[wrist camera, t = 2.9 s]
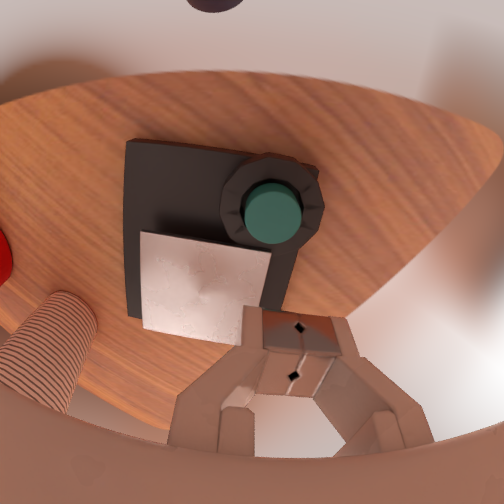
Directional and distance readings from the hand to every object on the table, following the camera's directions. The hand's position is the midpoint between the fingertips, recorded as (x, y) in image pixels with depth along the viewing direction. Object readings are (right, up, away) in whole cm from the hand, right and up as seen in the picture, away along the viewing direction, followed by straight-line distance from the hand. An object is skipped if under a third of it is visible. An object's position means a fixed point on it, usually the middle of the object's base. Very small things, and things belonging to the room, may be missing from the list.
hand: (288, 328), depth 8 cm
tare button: (0, +5, +9) cm, 10 cm away
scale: (-4, +3, +13) cm, 14 cm away
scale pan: (-5, -1, +11) cm, 12 cm away
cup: (-19, -4, +17) cm, 25 cm away
